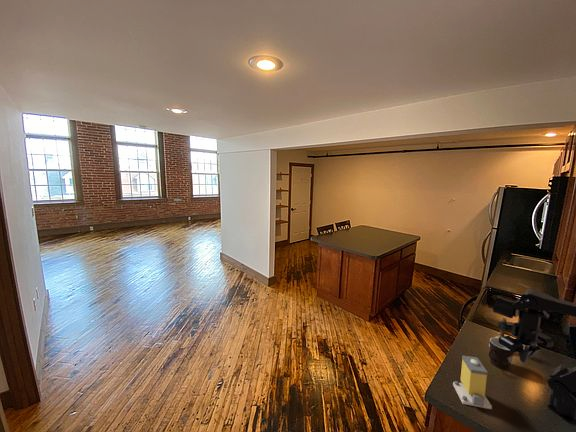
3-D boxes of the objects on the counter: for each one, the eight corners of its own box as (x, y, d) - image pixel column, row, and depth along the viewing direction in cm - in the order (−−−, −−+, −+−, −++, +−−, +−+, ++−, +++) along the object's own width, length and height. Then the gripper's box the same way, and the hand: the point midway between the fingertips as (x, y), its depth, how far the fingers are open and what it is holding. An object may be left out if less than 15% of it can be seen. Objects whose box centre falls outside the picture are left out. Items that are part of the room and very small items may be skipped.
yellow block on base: (474, 385, 97) (477, 355, 95) (484, 402, 89) (487, 370, 88) (459, 383, 98) (462, 353, 96) (468, 399, 91) (471, 367, 89)
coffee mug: (502, 358, 114) (505, 338, 113) (517, 372, 106) (521, 350, 104) (475, 356, 115) (477, 336, 114) (488, 370, 107) (491, 349, 105)
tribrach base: (477, 387, 98) (479, 377, 97) (492, 411, 88) (494, 400, 87) (452, 382, 100) (453, 373, 99) (463, 405, 90) (464, 394, 89)
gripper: (524, 310, 103) (519, 345, 105) (486, 314, 99) (482, 350, 101) (558, 325, 92) (551, 364, 94) (517, 331, 88) (511, 371, 90)
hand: (522, 361), depth 95 cm, fingers closed
